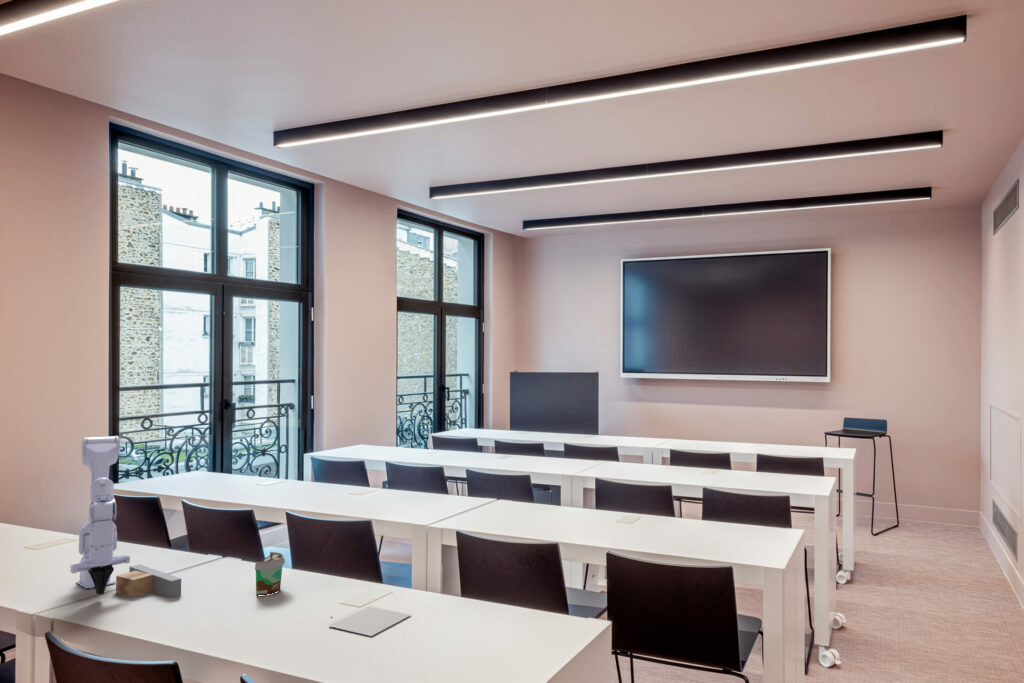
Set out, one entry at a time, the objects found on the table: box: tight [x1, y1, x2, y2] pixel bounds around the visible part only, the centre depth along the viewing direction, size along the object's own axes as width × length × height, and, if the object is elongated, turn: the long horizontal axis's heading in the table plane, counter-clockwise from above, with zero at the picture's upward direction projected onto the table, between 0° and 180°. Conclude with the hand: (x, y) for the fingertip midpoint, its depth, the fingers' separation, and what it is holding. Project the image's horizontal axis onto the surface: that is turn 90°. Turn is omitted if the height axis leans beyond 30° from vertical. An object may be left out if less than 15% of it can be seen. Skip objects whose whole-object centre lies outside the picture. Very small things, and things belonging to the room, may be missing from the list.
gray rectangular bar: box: [128, 563, 182, 599], centre depth 206 cm, size 24×3×5 cm, turn 54°
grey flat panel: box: [329, 605, 411, 637], centre depth 187 cm, size 23×25×1 cm
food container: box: [254, 551, 286, 596], centre depth 205 cm, size 12×6×10 cm, turn 179°
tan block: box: [115, 571, 153, 598], centre depth 203 cm, size 8×6×5 cm
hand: (99, 593), depth 195 cm, fingers closed
